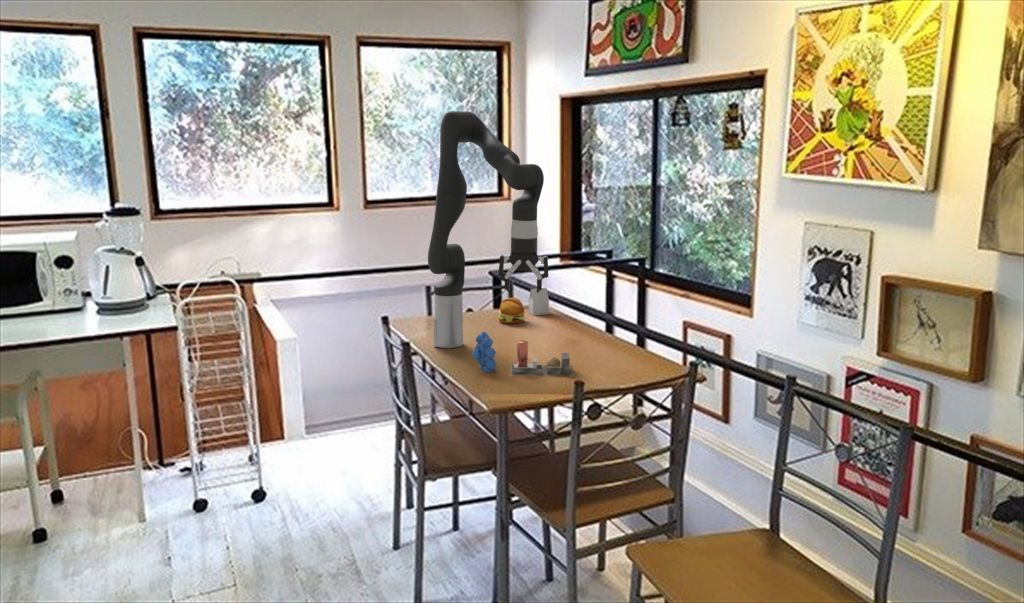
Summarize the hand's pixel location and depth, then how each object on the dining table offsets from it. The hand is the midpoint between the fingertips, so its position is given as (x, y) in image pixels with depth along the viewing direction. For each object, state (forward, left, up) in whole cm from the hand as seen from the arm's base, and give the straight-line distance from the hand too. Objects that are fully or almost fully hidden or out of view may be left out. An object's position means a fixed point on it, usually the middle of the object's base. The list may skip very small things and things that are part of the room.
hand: (523, 291), depth 219 cm
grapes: (-12, -5, -23) cm, 27 cm away
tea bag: (+5, +73, -24) cm, 77 cm away
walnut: (+9, -7, -22) cm, 24 cm away
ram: (+1, -7, -21) cm, 22 cm away
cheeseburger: (-5, +60, -24) cm, 65 cm away
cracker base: (+5, -7, -23) cm, 25 cm away
